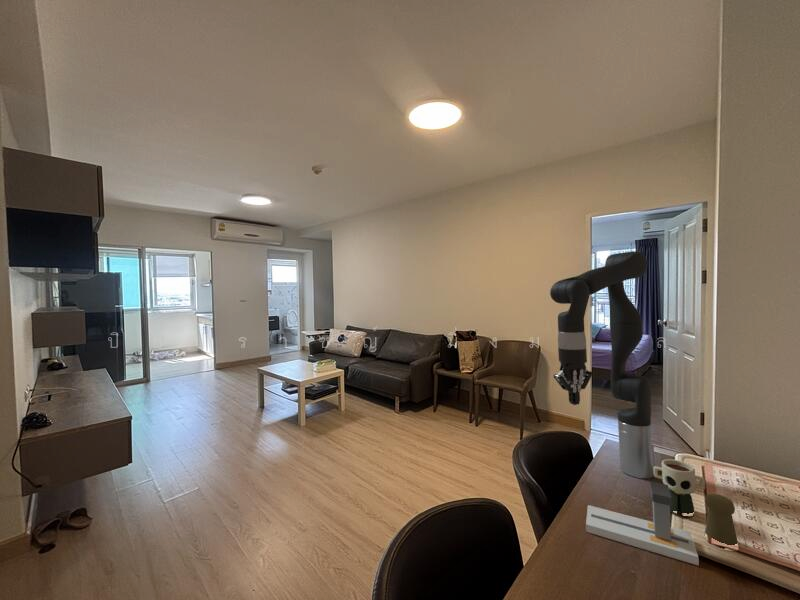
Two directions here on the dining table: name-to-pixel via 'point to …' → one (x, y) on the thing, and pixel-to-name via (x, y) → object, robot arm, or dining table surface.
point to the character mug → (679, 483)
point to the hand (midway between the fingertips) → (574, 403)
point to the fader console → (640, 534)
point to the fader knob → (661, 510)
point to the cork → (720, 519)
